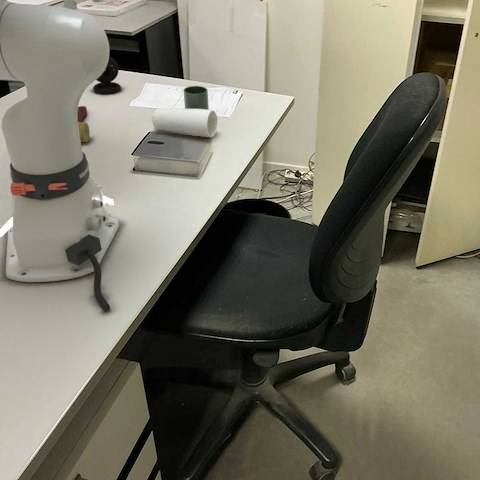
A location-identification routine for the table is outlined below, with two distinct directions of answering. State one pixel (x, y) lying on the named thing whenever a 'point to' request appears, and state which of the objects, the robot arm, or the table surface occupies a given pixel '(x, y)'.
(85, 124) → the gavel
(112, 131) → the table surface
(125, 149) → the table surface
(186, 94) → the tin
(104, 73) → the webcam
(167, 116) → the drinking glass
